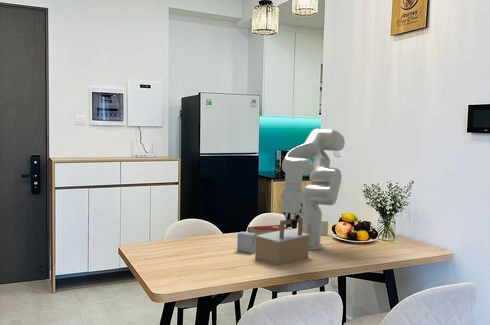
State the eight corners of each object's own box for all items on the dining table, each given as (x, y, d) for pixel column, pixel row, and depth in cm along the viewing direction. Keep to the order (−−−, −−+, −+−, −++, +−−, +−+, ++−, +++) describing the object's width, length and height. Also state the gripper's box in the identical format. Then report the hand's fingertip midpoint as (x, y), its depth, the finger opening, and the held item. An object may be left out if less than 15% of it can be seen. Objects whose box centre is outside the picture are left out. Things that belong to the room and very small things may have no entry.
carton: (255, 258, 204) (256, 236, 203) (286, 250, 219) (287, 230, 219) (277, 265, 195) (278, 242, 194) (308, 257, 210) (309, 235, 209)
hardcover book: (247, 233, 254) (247, 226, 254) (279, 231, 264) (279, 224, 264) (257, 238, 244) (257, 230, 243) (290, 236, 253) (290, 228, 253)
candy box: (327, 235, 257) (328, 220, 257) (327, 236, 255) (328, 221, 255) (298, 233, 259) (299, 219, 259) (298, 234, 257) (299, 219, 256)
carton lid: (256, 236, 203) (257, 217, 202) (287, 230, 219) (288, 212, 218) (278, 242, 194) (279, 222, 193) (309, 235, 209) (310, 217, 209)
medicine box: (255, 251, 216) (256, 233, 216) (252, 253, 212) (252, 235, 212) (240, 248, 220) (241, 231, 219) (236, 251, 216) (237, 233, 215)
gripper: (274, 185, 204) (272, 225, 206) (302, 189, 193) (300, 232, 194) (284, 184, 210) (282, 223, 211) (313, 188, 198) (311, 230, 200)
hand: (291, 227), depth 203 cm, fingers open, 2 cm apart
